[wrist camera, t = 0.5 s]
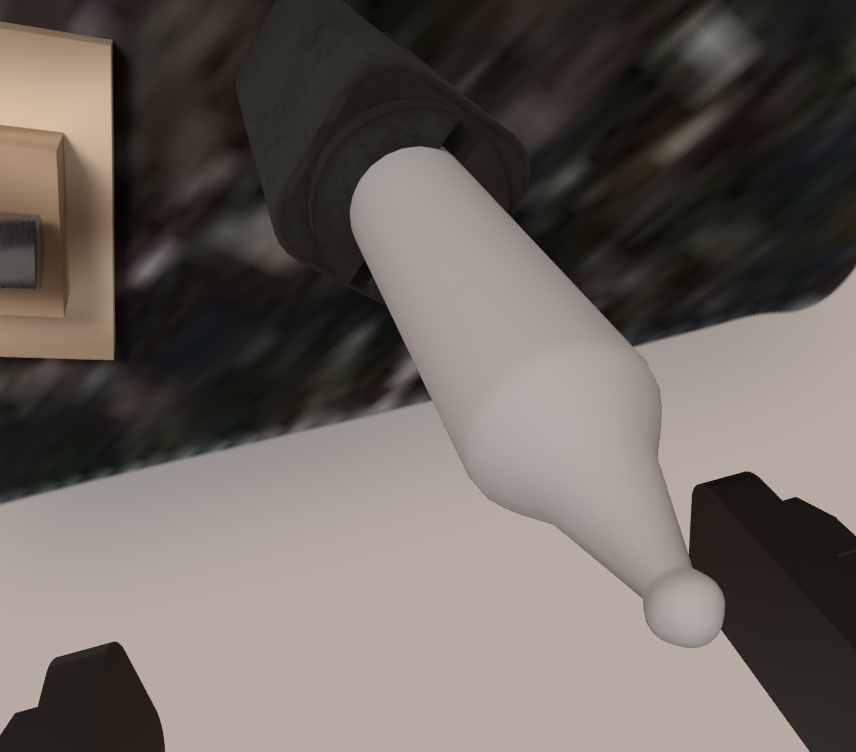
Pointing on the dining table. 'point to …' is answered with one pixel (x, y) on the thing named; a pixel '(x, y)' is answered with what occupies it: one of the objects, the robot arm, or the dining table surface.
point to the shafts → (21, 251)
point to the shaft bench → (89, 118)
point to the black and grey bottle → (468, 292)
